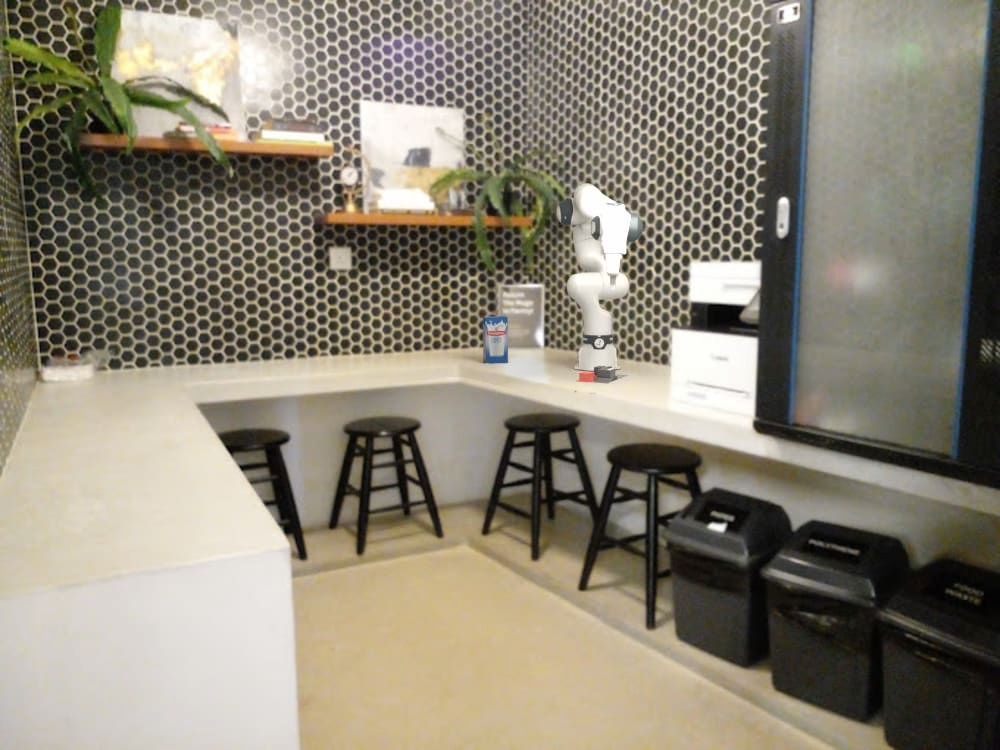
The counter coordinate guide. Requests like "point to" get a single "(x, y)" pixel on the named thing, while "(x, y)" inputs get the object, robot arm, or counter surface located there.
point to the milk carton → (495, 339)
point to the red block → (586, 376)
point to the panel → (604, 380)
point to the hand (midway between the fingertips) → (613, 289)
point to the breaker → (606, 373)
